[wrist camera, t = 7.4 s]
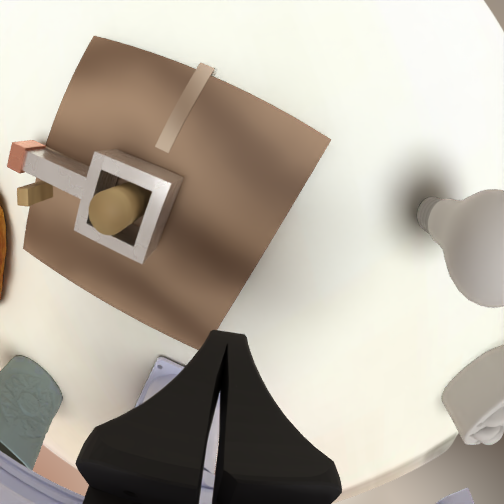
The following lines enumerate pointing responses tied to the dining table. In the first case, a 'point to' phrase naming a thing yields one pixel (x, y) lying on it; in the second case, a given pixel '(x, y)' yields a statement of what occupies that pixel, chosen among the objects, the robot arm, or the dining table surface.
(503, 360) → the lumpy-topped squat cylinder
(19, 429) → the embossed teal cup
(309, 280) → the dining table surface
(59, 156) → the square frame with handle
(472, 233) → the lightbulb
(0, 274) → the croissant
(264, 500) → the robot arm
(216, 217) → the socket base
